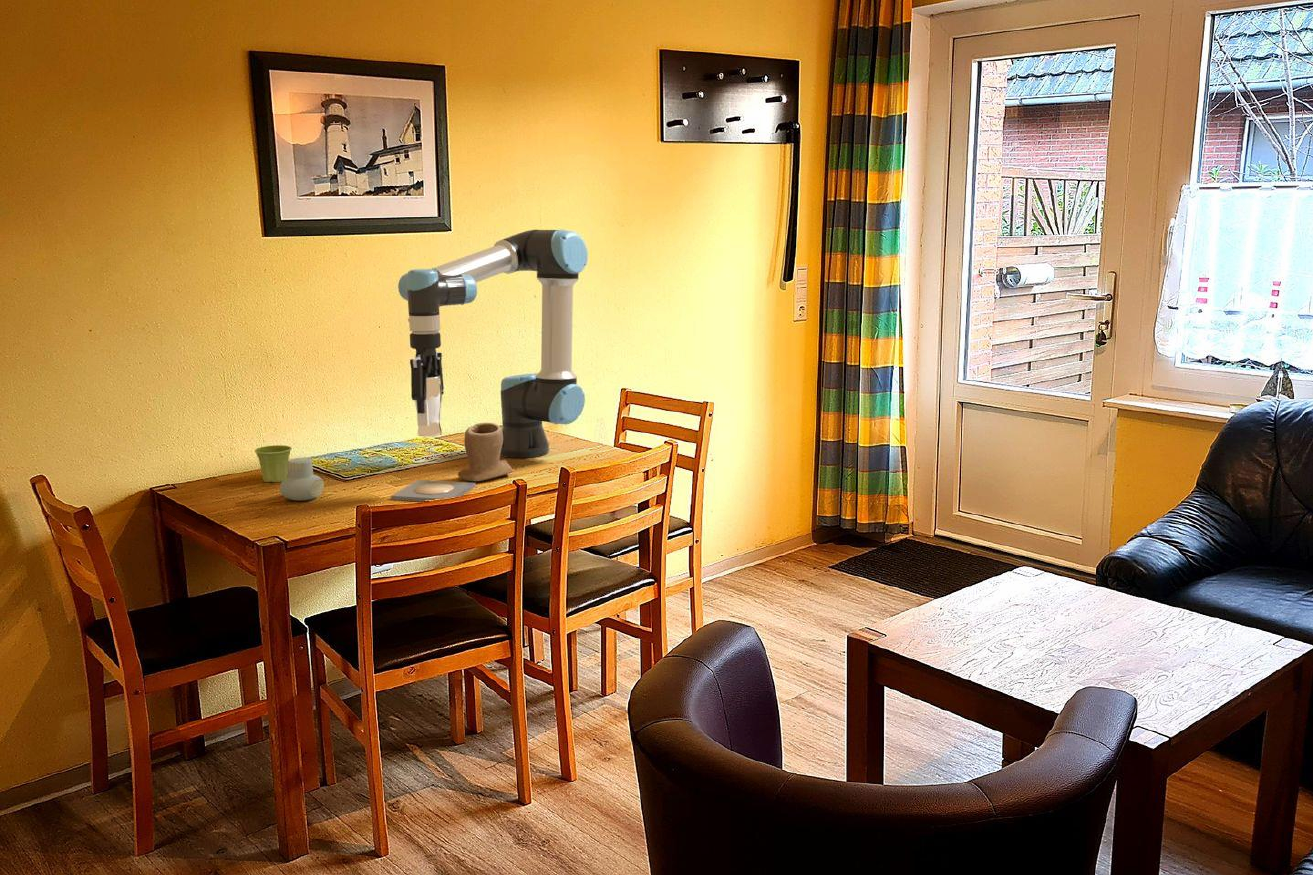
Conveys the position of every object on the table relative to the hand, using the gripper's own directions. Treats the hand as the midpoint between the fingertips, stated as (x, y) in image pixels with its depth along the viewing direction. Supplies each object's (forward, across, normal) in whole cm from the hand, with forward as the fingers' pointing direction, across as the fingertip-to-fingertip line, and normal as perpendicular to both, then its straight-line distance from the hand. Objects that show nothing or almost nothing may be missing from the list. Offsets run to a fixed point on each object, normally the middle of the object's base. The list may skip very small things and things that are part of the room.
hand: (429, 422), depth 285 cm
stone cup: (+19, -17, +8) cm, 27 cm away
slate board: (+18, 0, 0) cm, 18 cm away
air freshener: (+19, +11, -31) cm, 38 cm away
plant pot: (+19, -4, -48) cm, 52 cm away
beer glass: (+3, 0, 0) cm, 3 cm away
